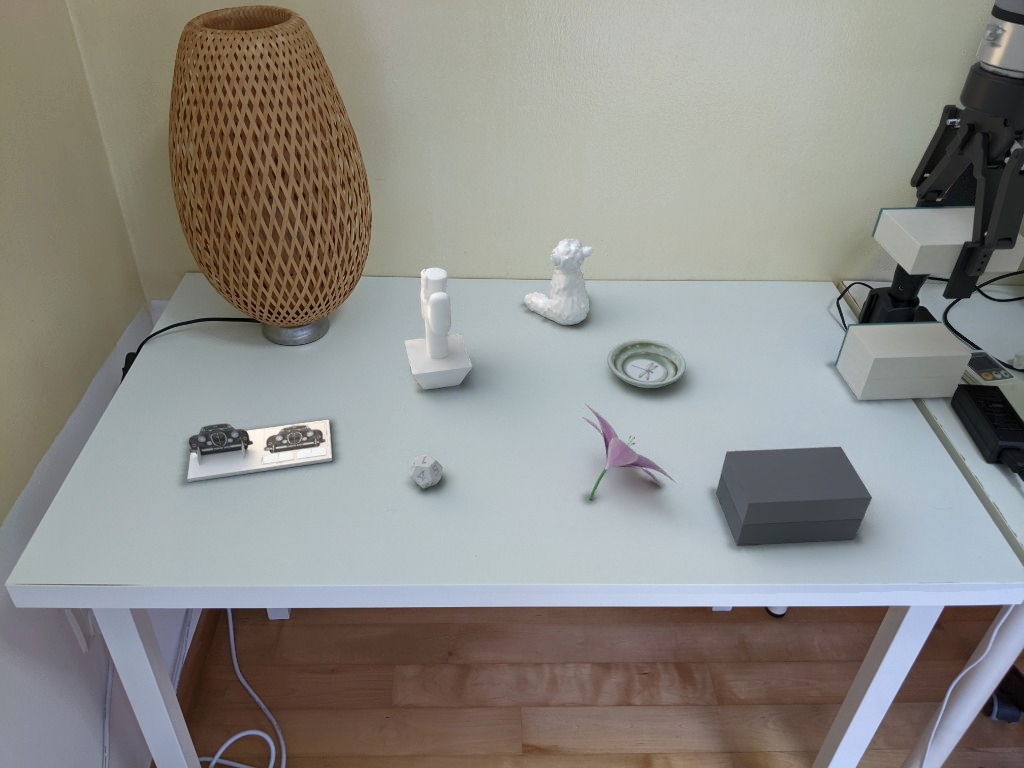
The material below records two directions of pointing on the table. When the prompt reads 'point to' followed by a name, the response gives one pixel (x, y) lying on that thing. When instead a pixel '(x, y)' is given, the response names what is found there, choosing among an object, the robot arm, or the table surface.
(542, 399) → the table surface
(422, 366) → the figurine
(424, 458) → the game die
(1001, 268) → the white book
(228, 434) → the car cutout
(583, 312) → the sitting furry creature
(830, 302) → the table surface
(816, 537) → the grey box
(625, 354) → the saucer
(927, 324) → the white rectangular block
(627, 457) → the lily
